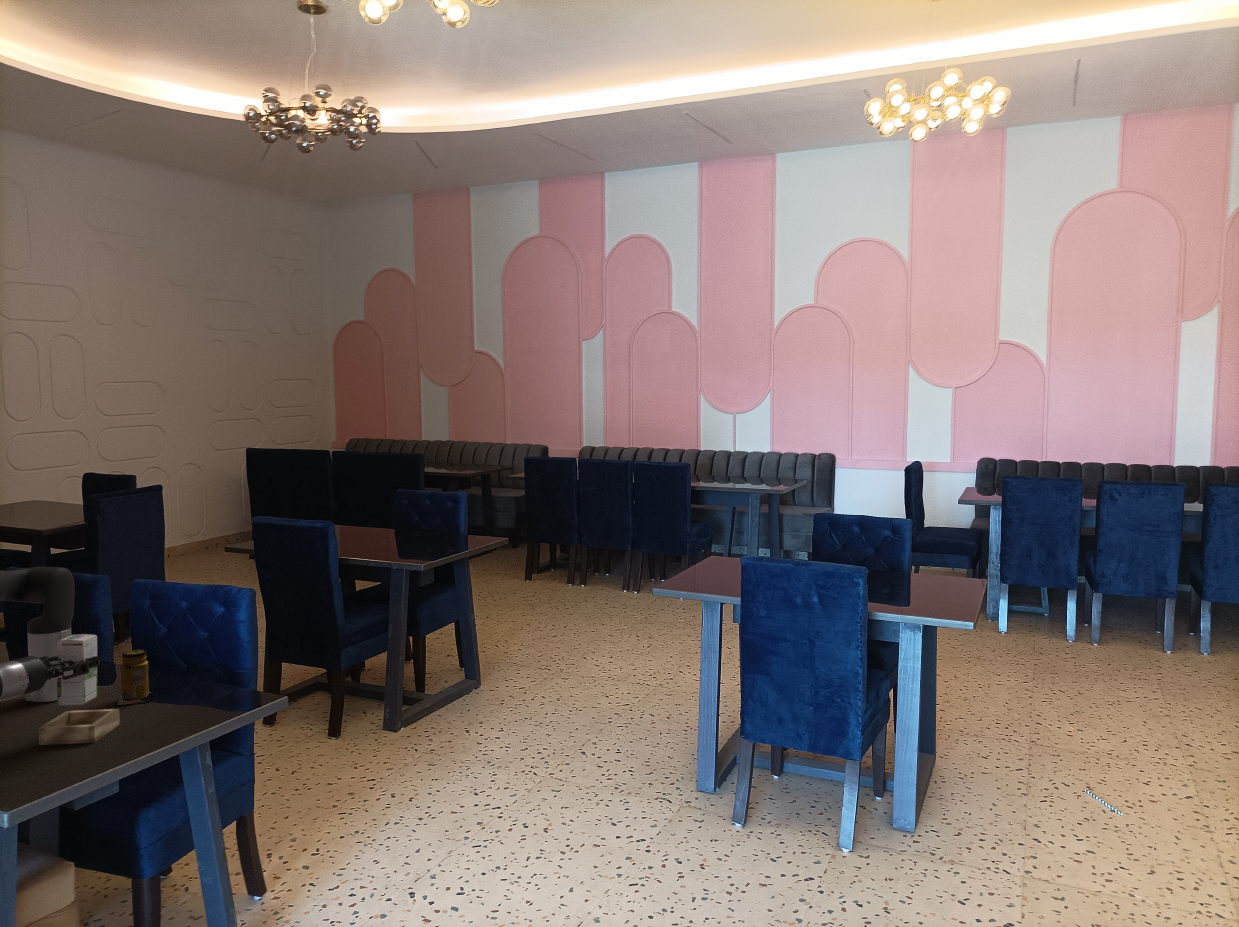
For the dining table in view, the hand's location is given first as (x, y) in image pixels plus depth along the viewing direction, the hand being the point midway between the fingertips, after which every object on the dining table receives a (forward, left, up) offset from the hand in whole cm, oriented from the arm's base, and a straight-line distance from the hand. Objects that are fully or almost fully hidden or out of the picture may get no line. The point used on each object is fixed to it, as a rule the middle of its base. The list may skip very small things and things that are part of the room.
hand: (86, 659), depth 190 cm
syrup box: (-1, -2, -9) cm, 9 cm away
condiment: (0, +22, -17) cm, 28 cm away
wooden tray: (-1, -2, -16) cm, 17 cm away
